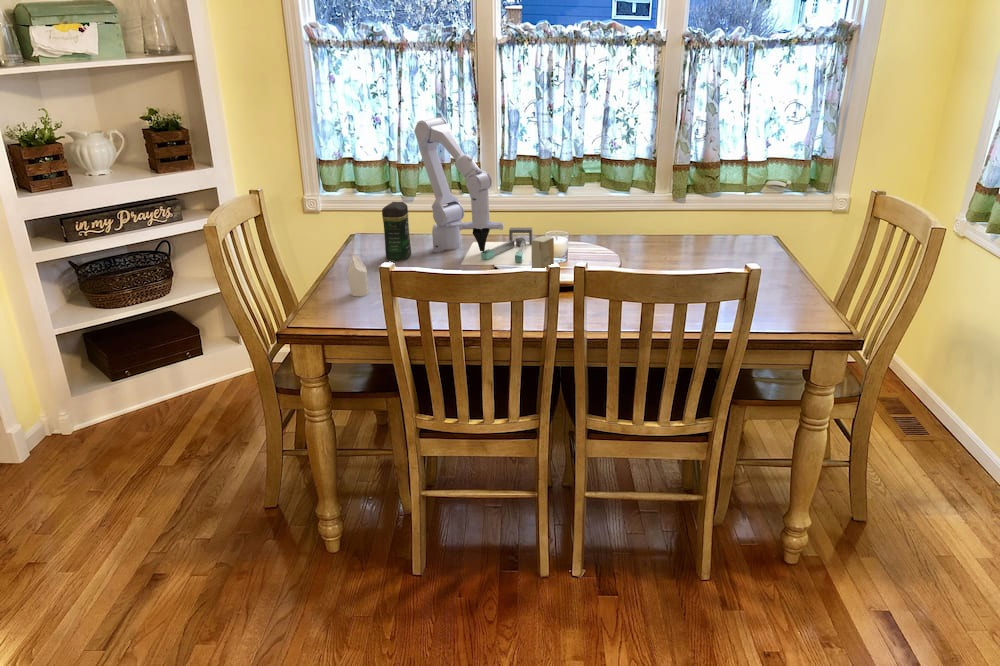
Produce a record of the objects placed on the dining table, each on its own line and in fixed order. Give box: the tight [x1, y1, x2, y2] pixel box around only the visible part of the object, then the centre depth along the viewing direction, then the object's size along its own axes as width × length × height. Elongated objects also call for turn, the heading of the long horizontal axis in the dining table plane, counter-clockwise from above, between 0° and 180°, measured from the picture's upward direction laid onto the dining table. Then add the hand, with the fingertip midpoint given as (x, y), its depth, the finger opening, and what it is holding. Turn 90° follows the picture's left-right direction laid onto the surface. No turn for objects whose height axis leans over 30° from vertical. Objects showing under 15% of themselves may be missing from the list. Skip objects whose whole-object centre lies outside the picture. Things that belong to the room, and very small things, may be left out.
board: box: [460, 241, 532, 266], centre depth 263 cm, size 22×25×1 cm
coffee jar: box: [381, 201, 412, 262], centre depth 262 cm, size 10×8×19 cm
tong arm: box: [481, 239, 515, 260], centre depth 262 cm, size 16×2×2 cm, turn 145°
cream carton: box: [347, 254, 370, 297], centre depth 233 cm, size 6×12×6 cm
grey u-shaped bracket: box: [508, 227, 533, 244], centre depth 270 cm, size 3×8×5 cm, turn 83°
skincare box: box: [531, 235, 555, 269], centre depth 240 cm, size 6×4×12 cm
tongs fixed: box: [515, 237, 527, 262], centre depth 261 cm, size 20×4×2 cm, turn 173°
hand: (482, 250), depth 262 cm, fingers closed
